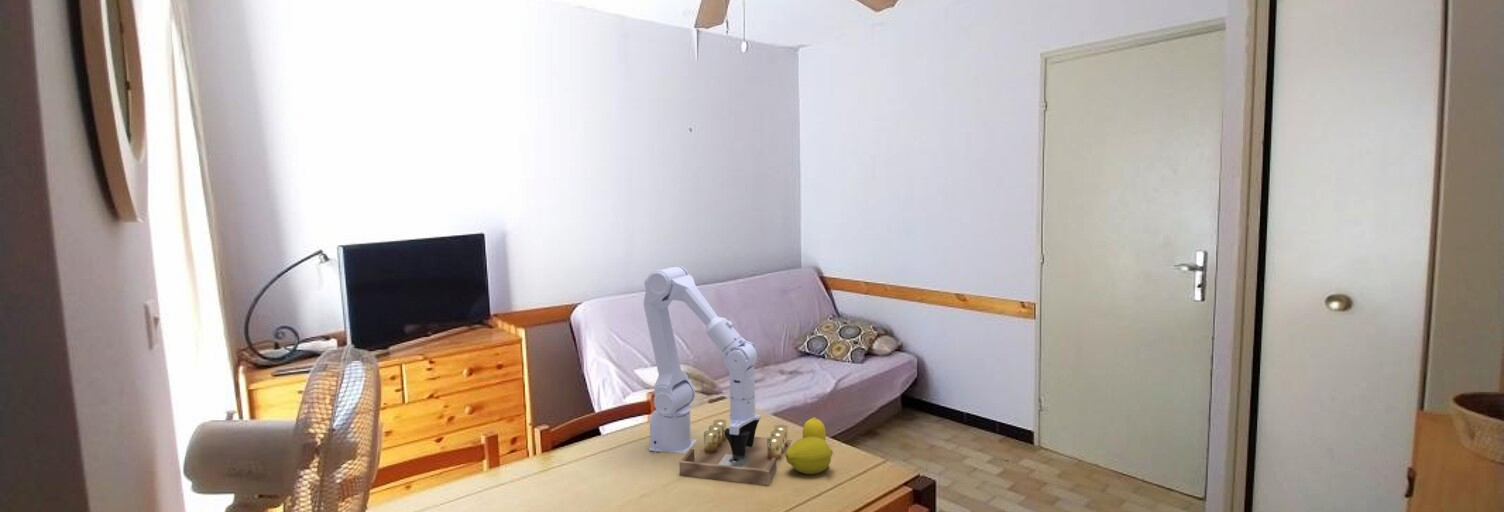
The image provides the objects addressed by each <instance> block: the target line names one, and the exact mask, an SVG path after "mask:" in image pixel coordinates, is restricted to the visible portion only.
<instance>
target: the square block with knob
mask: <svg viewBox="0 0 1504 512" xmlns="http://www.w3.org/2000/svg"><path fill="white" fill-rule="evenodd" d="M718 465H726V466H735V467H744V468H749V467H750V456H741V455H731V454H725V456H724V457H723V458H722V460H721V461H720V463H719V464H718Z"/></svg>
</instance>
